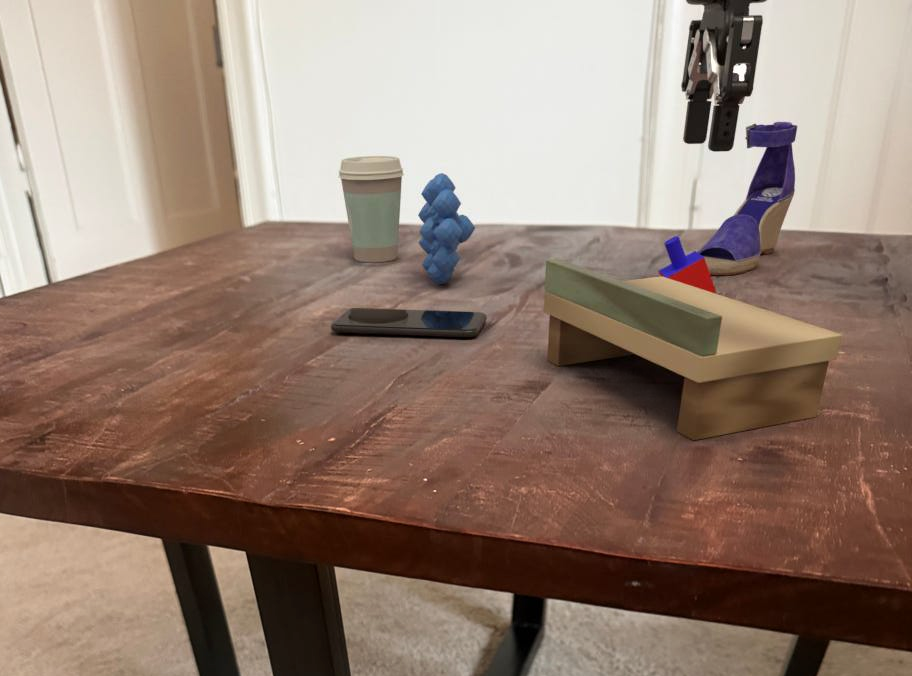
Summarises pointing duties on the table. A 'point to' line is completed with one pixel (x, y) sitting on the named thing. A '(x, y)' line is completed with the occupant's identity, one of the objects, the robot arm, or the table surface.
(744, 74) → the robot arm
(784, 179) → the sandal
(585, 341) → the shoe shelf
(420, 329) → the smartphone
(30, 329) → the table surface
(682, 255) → the toy building block
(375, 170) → the coffee cup
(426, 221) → the grapes
